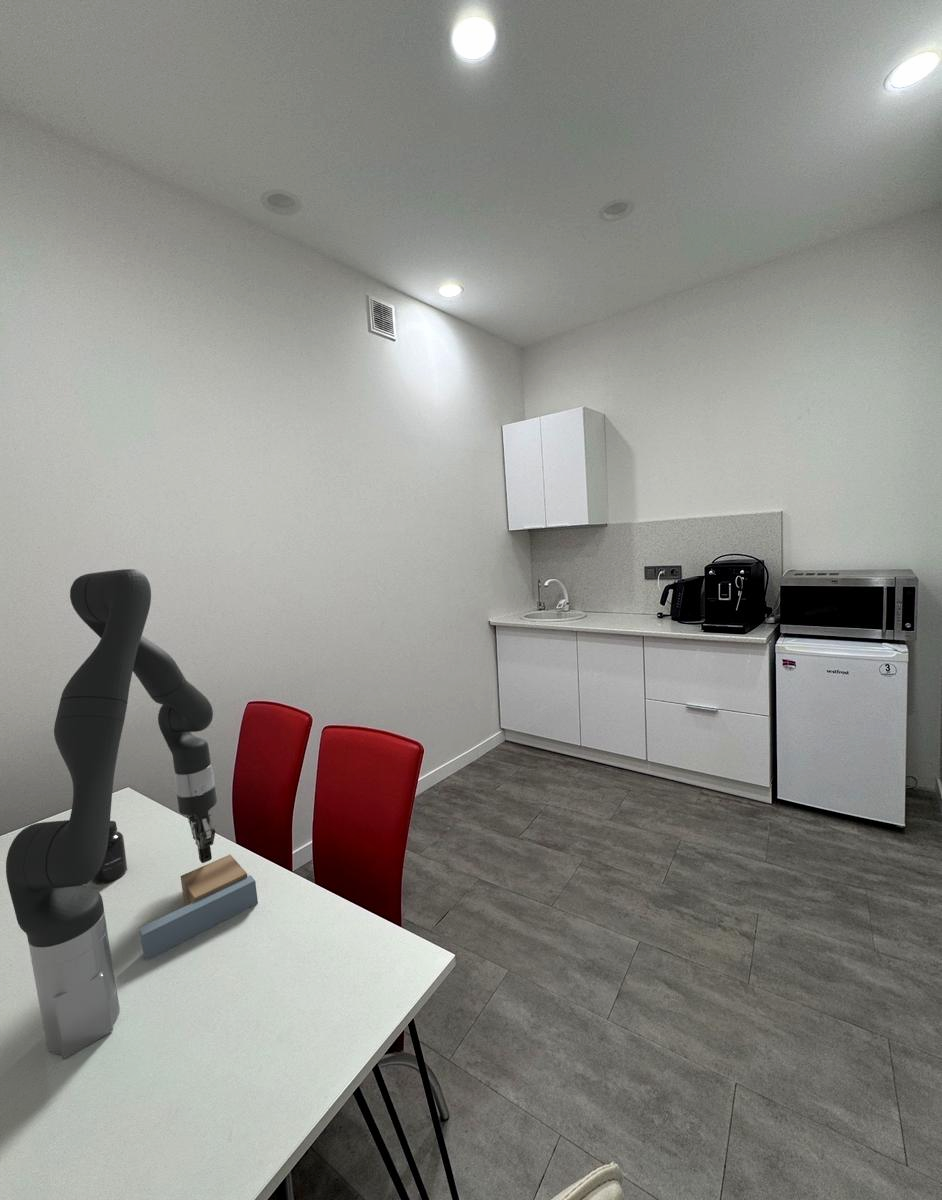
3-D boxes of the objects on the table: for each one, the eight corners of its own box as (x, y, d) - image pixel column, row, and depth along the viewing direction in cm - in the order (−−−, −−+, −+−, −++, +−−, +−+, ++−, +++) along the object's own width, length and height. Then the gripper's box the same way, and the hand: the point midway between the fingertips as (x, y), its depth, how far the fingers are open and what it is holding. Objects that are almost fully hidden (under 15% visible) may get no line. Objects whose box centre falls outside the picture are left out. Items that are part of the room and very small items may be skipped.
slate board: (257, 903, 108) (255, 880, 107) (146, 960, 94) (142, 934, 94) (253, 897, 110) (250, 875, 109) (143, 953, 96) (139, 927, 96)
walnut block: (250, 900, 109) (247, 873, 108) (198, 926, 102) (194, 898, 102) (233, 879, 116) (230, 854, 116) (184, 902, 110) (180, 876, 109)
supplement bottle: (114, 884, 117) (106, 833, 116) (84, 885, 117) (76, 835, 116) (134, 865, 124) (127, 817, 123) (106, 866, 124) (98, 818, 123)
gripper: (169, 783, 118) (179, 855, 120) (184, 804, 108) (195, 881, 110) (205, 772, 123) (214, 841, 125) (223, 790, 113) (233, 865, 115)
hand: (205, 860), depth 117 cm, fingers closed
